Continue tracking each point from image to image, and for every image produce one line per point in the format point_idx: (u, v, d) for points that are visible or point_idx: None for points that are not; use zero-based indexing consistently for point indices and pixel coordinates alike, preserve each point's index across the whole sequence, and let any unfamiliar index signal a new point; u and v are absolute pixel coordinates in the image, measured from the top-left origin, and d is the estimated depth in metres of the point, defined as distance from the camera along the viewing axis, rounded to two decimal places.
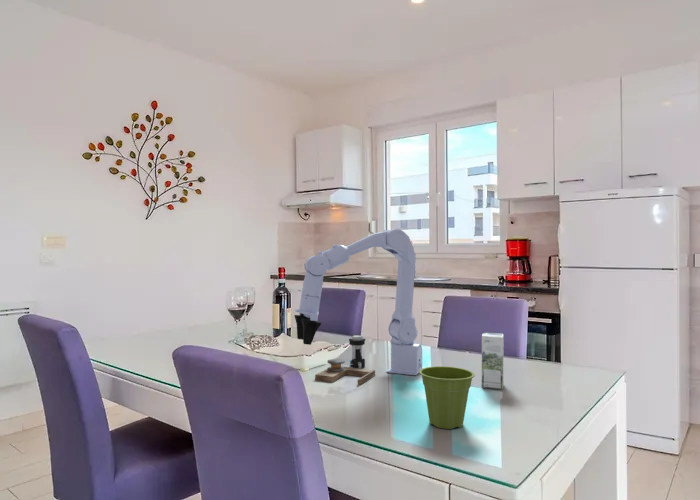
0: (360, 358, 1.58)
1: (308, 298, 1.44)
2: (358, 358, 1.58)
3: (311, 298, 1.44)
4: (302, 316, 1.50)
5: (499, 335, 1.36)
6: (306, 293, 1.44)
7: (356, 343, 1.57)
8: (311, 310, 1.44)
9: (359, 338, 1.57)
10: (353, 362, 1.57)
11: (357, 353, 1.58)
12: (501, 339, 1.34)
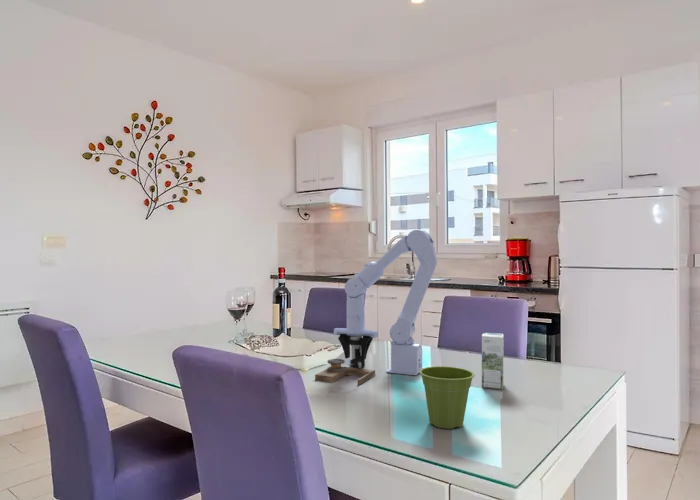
0: (360, 358, 1.58)
1: (361, 319, 1.56)
2: (358, 358, 1.58)
3: (363, 318, 1.57)
4: (346, 336, 1.59)
5: (499, 335, 1.36)
6: (348, 314, 1.57)
7: (355, 343, 1.57)
8: (363, 329, 1.57)
9: (358, 338, 1.58)
10: (353, 362, 1.57)
11: (357, 353, 1.58)
12: (501, 339, 1.34)
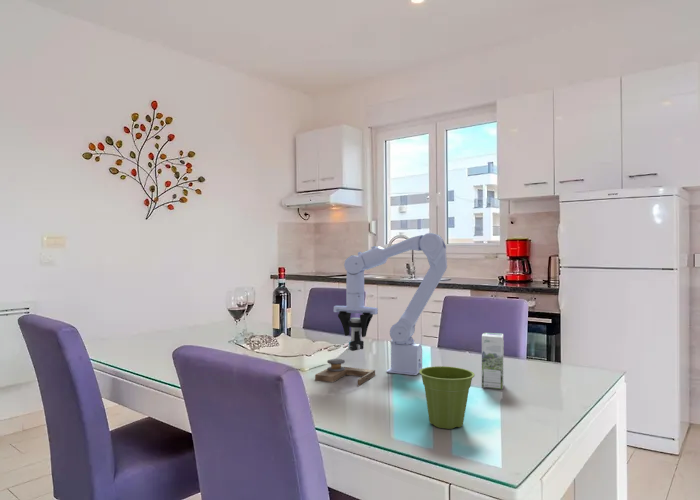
0: (359, 340, 1.58)
1: (360, 295, 1.56)
2: (357, 340, 1.58)
3: (362, 295, 1.57)
4: (346, 314, 1.59)
5: (499, 335, 1.36)
6: (347, 291, 1.57)
7: (355, 325, 1.57)
8: (363, 306, 1.57)
9: (358, 320, 1.57)
10: (352, 344, 1.57)
11: (356, 335, 1.58)
12: (501, 339, 1.34)
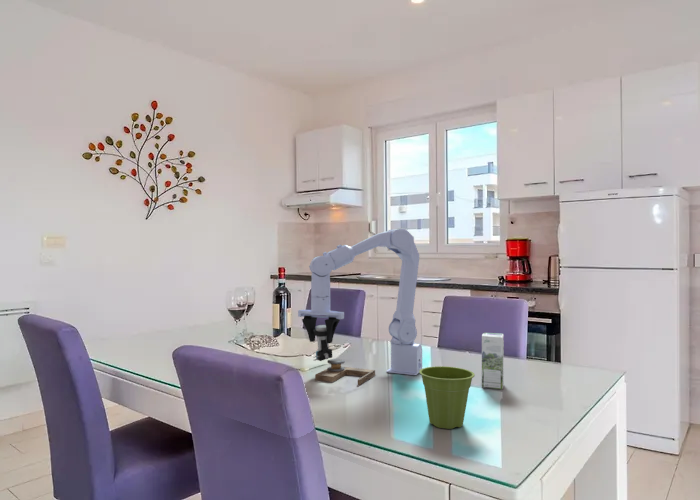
0: (326, 349, 1.49)
1: (326, 299, 1.46)
2: (324, 349, 1.48)
3: (328, 298, 1.47)
4: (311, 318, 1.49)
5: (499, 335, 1.36)
6: (315, 295, 1.46)
7: (321, 334, 1.47)
8: (329, 310, 1.47)
9: (324, 328, 1.48)
10: (319, 354, 1.48)
11: (323, 344, 1.49)
12: (501, 339, 1.34)
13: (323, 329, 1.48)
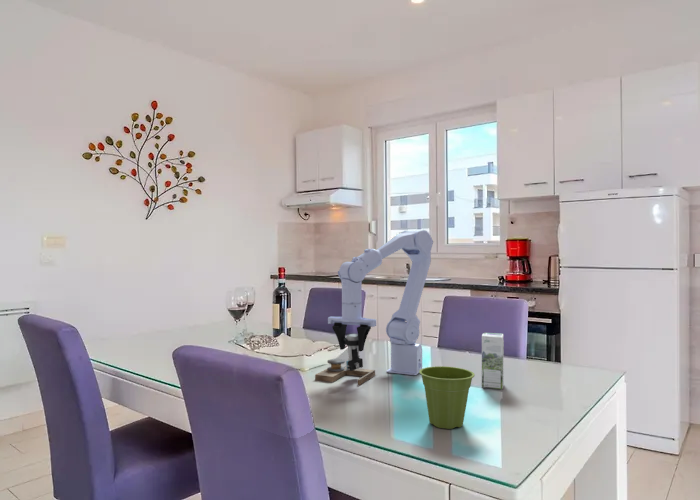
0: (357, 359, 1.45)
1: (357, 306, 1.42)
2: (355, 359, 1.44)
3: (359, 305, 1.43)
4: (341, 325, 1.45)
5: (499, 335, 1.36)
6: (350, 301, 1.42)
7: (352, 343, 1.43)
8: (360, 317, 1.43)
9: (355, 338, 1.43)
10: (350, 364, 1.44)
11: (354, 353, 1.45)
12: (501, 339, 1.34)
13: (354, 338, 1.43)
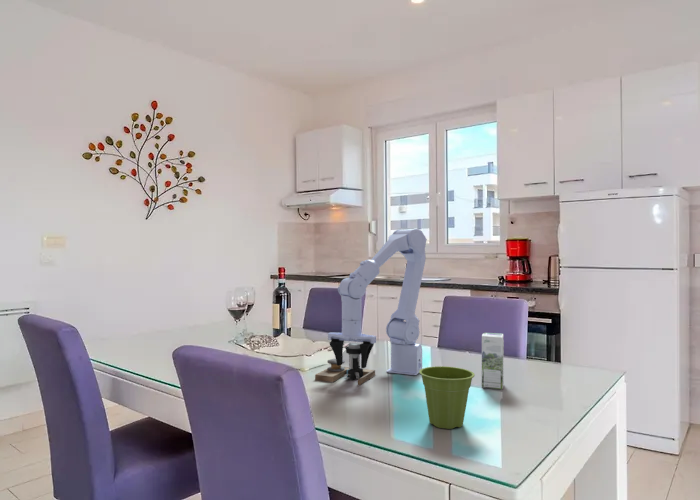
0: (358, 368, 1.45)
1: (357, 322, 1.42)
2: (355, 368, 1.45)
3: (359, 322, 1.43)
4: (339, 341, 1.45)
5: (499, 335, 1.36)
6: (350, 318, 1.42)
7: (353, 352, 1.44)
8: (360, 333, 1.43)
9: (357, 346, 1.44)
10: (350, 372, 1.44)
11: (354, 362, 1.45)
12: (501, 339, 1.34)
13: (356, 347, 1.44)
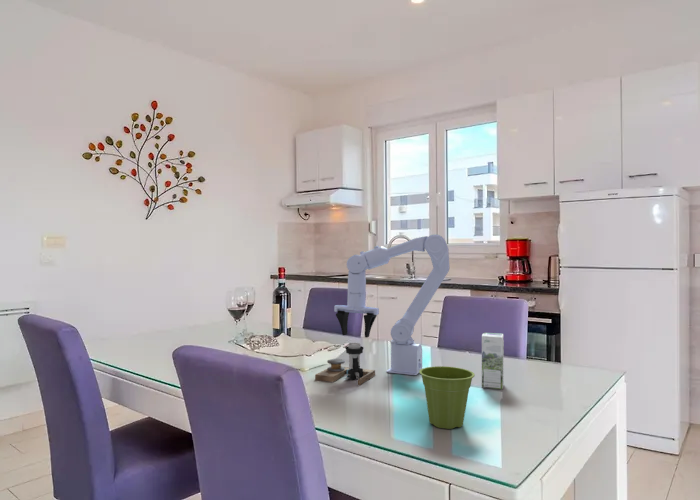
0: (358, 368, 1.45)
1: (362, 295, 1.55)
2: (355, 368, 1.45)
3: (364, 295, 1.56)
4: (344, 313, 1.58)
5: (499, 335, 1.36)
6: (349, 291, 1.55)
7: (353, 352, 1.44)
8: (364, 306, 1.56)
9: (357, 346, 1.44)
10: (350, 372, 1.44)
11: (354, 362, 1.45)
12: (501, 339, 1.34)
13: (356, 347, 1.44)
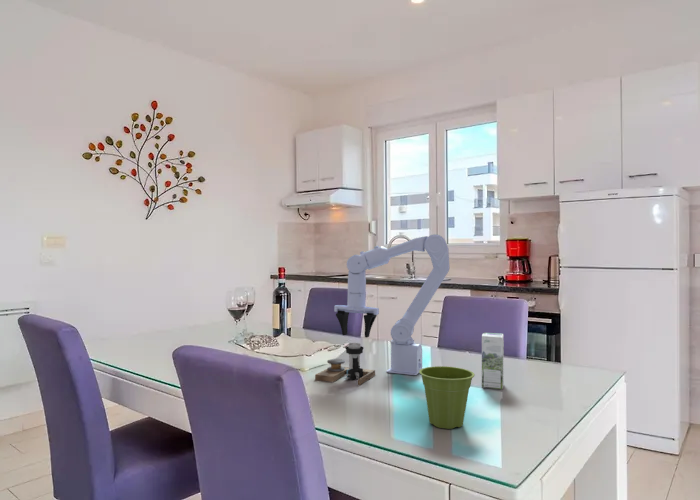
0: (358, 368, 1.45)
1: (362, 295, 1.55)
2: (355, 368, 1.45)
3: (364, 295, 1.56)
4: (344, 313, 1.58)
5: (499, 335, 1.36)
6: (349, 291, 1.56)
7: (353, 352, 1.44)
8: (364, 306, 1.56)
9: (357, 346, 1.44)
10: (350, 372, 1.44)
11: (354, 362, 1.45)
12: (501, 339, 1.34)
13: (356, 347, 1.44)
